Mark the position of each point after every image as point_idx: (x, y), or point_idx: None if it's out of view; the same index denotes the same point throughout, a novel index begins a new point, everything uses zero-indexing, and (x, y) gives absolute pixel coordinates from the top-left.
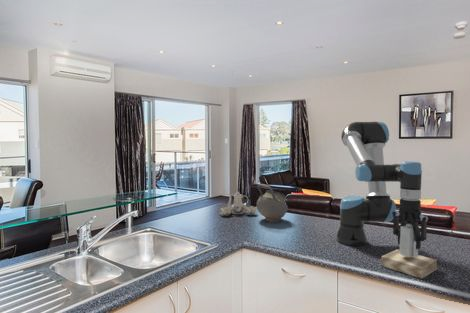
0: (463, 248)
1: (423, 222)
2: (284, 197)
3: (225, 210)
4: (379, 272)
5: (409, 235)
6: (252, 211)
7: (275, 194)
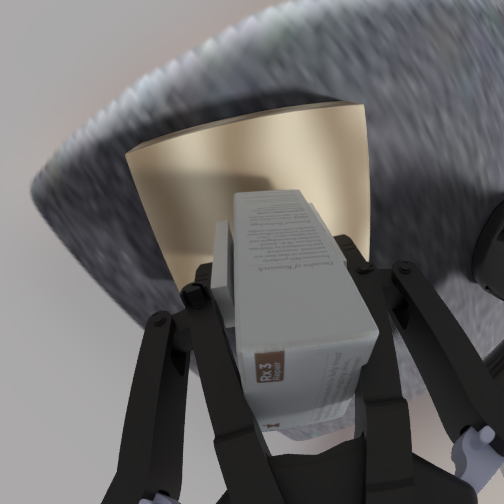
0: None
1: (123, 478)
2: None
3: None
4: (287, 19)
5: (237, 285)
6: None
7: None
